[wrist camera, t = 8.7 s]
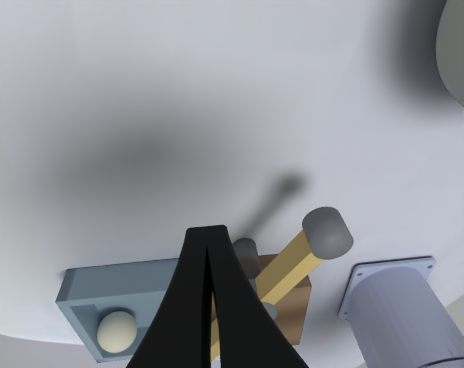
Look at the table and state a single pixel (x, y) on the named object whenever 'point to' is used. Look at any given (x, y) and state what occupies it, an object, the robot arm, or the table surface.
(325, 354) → the table surface
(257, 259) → the block
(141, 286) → the shallow square tray
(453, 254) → the table surface
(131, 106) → the table surface
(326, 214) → the lever
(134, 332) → the ball
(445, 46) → the teacup
